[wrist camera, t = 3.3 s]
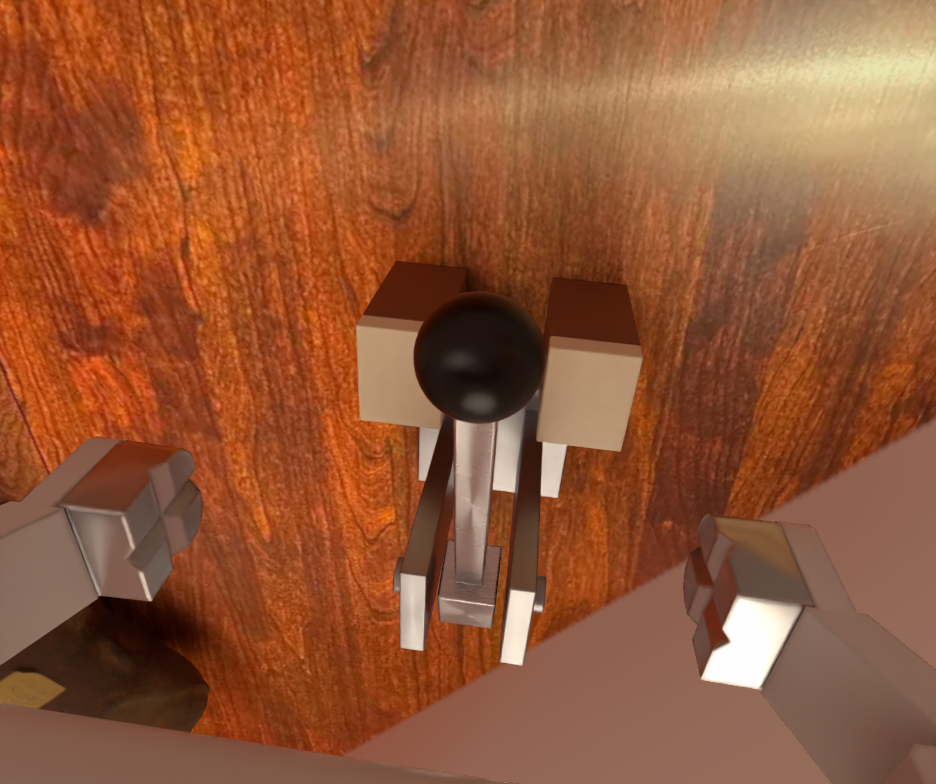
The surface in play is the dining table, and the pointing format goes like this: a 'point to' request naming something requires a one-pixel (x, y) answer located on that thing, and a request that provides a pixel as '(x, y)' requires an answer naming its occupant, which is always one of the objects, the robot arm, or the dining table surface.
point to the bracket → (529, 477)
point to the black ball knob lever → (476, 427)
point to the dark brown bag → (105, 674)
